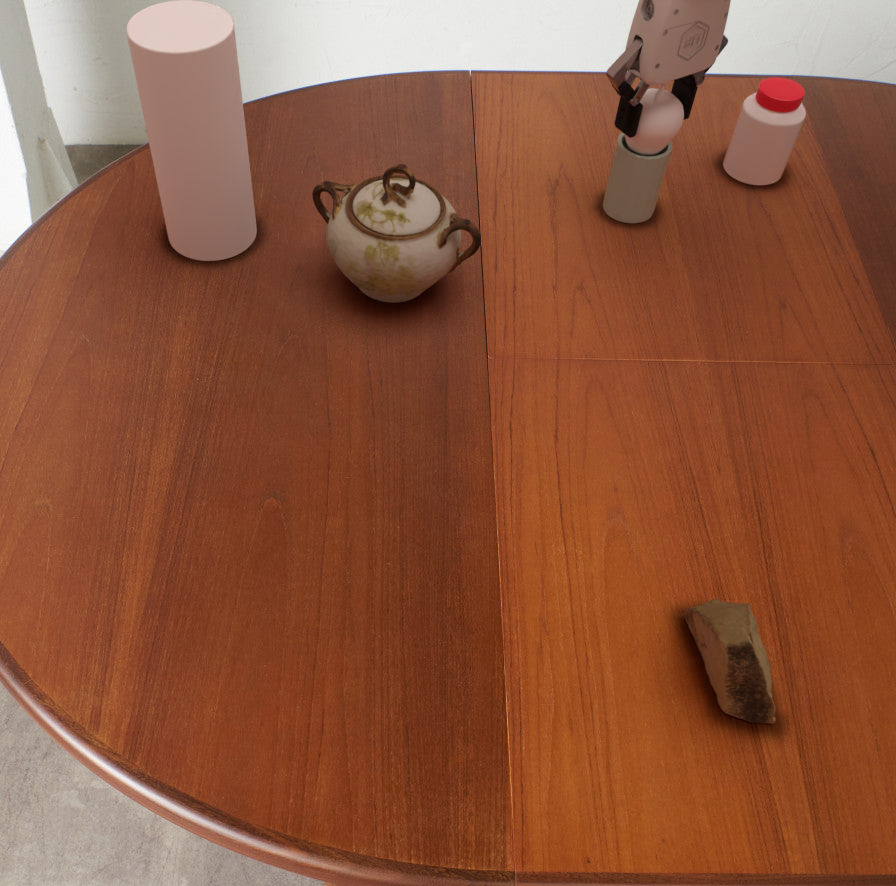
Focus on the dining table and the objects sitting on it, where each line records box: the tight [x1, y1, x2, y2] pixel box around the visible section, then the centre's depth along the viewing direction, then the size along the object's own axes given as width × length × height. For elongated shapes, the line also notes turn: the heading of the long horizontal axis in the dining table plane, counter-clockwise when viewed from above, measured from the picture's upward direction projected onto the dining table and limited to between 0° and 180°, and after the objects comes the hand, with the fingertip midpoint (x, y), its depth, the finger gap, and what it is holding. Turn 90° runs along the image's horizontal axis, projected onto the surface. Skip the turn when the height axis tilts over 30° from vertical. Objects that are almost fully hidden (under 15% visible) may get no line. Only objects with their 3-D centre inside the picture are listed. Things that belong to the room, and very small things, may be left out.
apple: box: [624, 83, 684, 155], centre depth 108 cm, size 7×7×8 cm
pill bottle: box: [722, 76, 807, 186], centre depth 120 cm, size 8×8×11 cm
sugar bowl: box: [311, 163, 482, 304], centre depth 103 cm, size 20×15×15 cm
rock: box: [683, 598, 777, 725], centre depth 78 cm, size 11×9×10 cm
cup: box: [602, 132, 673, 224], centre depth 115 cm, size 6×6×9 cm
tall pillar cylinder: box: [125, 0, 258, 262], centre depth 104 cm, size 11×11×25 cm
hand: (651, 121), depth 109 cm, fingers closed on apple, 7 cm apart
